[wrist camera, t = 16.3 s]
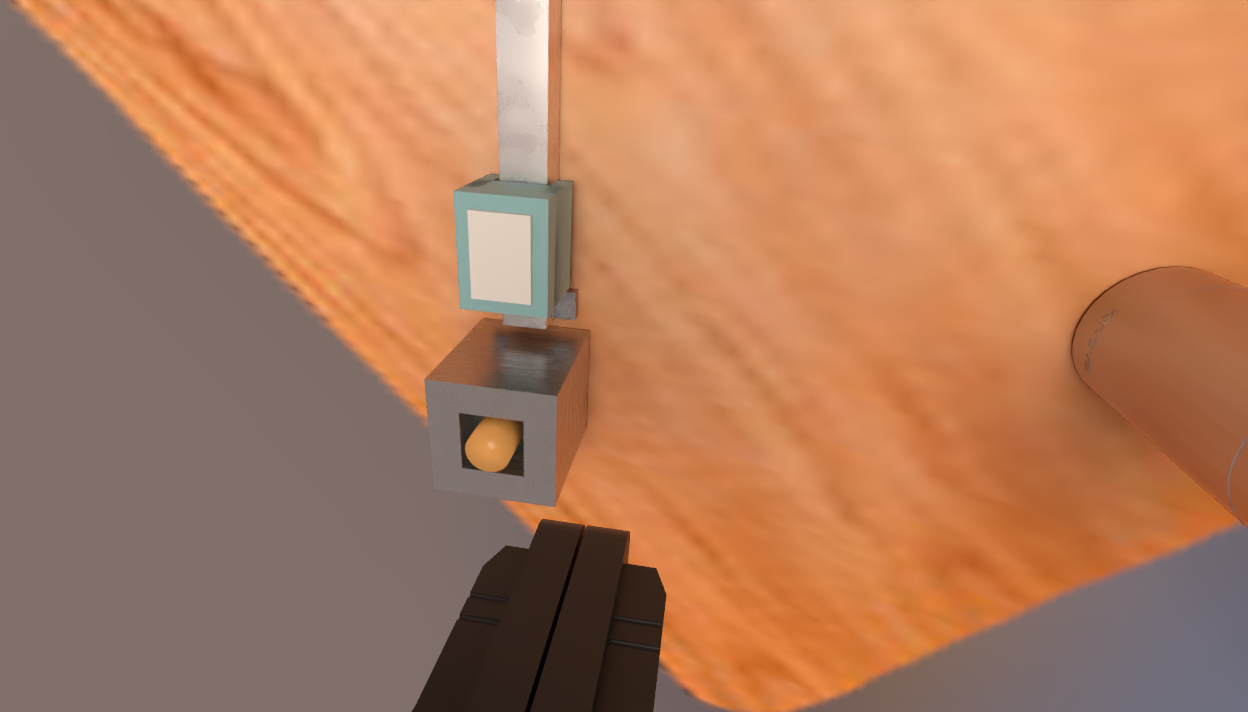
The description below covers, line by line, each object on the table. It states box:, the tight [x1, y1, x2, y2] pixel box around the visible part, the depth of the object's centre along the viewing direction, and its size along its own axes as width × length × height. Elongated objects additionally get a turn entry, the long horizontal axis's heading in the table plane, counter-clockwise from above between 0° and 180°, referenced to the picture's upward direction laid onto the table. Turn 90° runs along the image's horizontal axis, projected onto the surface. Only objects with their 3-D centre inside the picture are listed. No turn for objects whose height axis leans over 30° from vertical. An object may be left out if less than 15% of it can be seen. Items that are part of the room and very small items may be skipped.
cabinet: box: [425, 318, 590, 507], centre depth 43 cm, size 9×8×10 cm
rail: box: [495, 0, 578, 329], centre depth 38 cm, size 6×30×3 cm, turn 176°
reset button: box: [465, 416, 524, 472], centre depth 40 cm, size 3×3×4 cm
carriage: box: [454, 174, 573, 319], centre depth 39 cm, size 5×7×6 cm
